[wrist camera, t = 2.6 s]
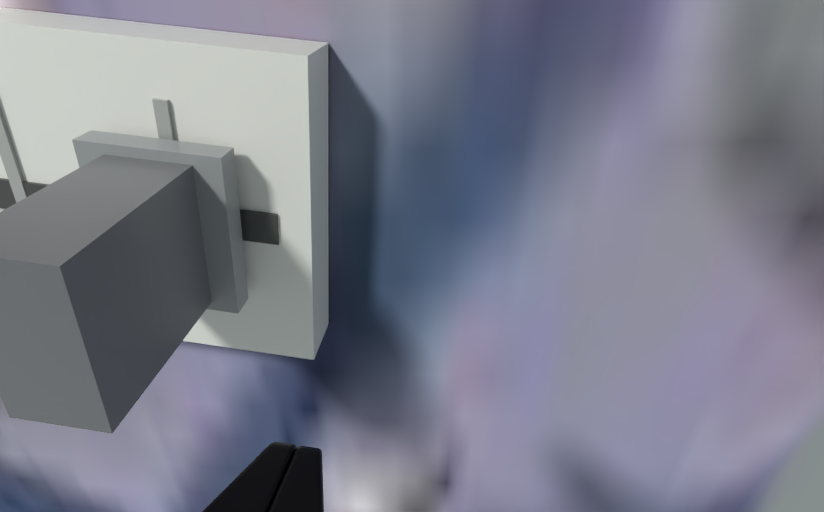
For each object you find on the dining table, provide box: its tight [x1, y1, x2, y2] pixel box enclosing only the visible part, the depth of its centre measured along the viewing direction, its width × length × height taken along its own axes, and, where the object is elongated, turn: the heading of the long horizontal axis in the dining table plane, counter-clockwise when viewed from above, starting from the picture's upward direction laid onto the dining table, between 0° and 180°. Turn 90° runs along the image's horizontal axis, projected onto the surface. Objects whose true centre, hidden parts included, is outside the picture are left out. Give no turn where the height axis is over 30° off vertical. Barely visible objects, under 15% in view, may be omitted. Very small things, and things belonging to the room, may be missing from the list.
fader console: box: [0, 7, 329, 360], centre depth 17 cm, size 20×10×2 cm, turn 85°
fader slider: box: [0, 130, 248, 433], centre depth 13 cm, size 4×5×6 cm
